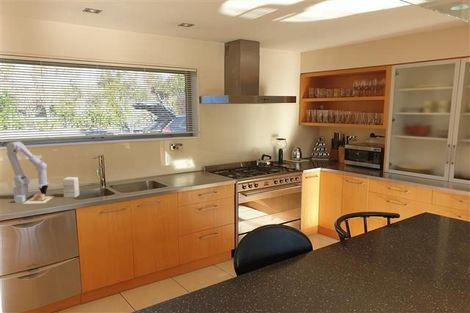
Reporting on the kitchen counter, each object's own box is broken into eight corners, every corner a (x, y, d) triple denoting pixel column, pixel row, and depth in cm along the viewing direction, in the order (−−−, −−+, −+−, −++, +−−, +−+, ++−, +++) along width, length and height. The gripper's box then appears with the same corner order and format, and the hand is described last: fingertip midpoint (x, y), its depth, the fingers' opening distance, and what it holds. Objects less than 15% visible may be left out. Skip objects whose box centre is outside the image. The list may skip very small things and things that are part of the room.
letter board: (22, 204, 242) (22, 203, 242) (34, 197, 262) (34, 196, 262) (44, 203, 245) (44, 203, 245) (54, 196, 265) (54, 195, 265)
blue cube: (15, 203, 245) (14, 197, 244) (18, 201, 250) (17, 195, 249) (22, 203, 246) (22, 196, 245) (25, 201, 251) (25, 195, 250)
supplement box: (68, 195, 270) (67, 176, 268) (79, 194, 271) (78, 176, 269) (63, 198, 261) (62, 179, 259) (75, 197, 262) (74, 179, 260)
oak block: (33, 201, 250) (33, 195, 249) (36, 199, 254) (36, 194, 254) (42, 200, 251) (42, 195, 250) (45, 199, 256) (44, 193, 255)
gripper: (44, 179, 253) (46, 197, 255) (51, 176, 267) (52, 192, 269) (34, 180, 252) (35, 197, 254) (42, 176, 266) (43, 193, 268)
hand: (44, 195), depth 261 cm, fingers closed
